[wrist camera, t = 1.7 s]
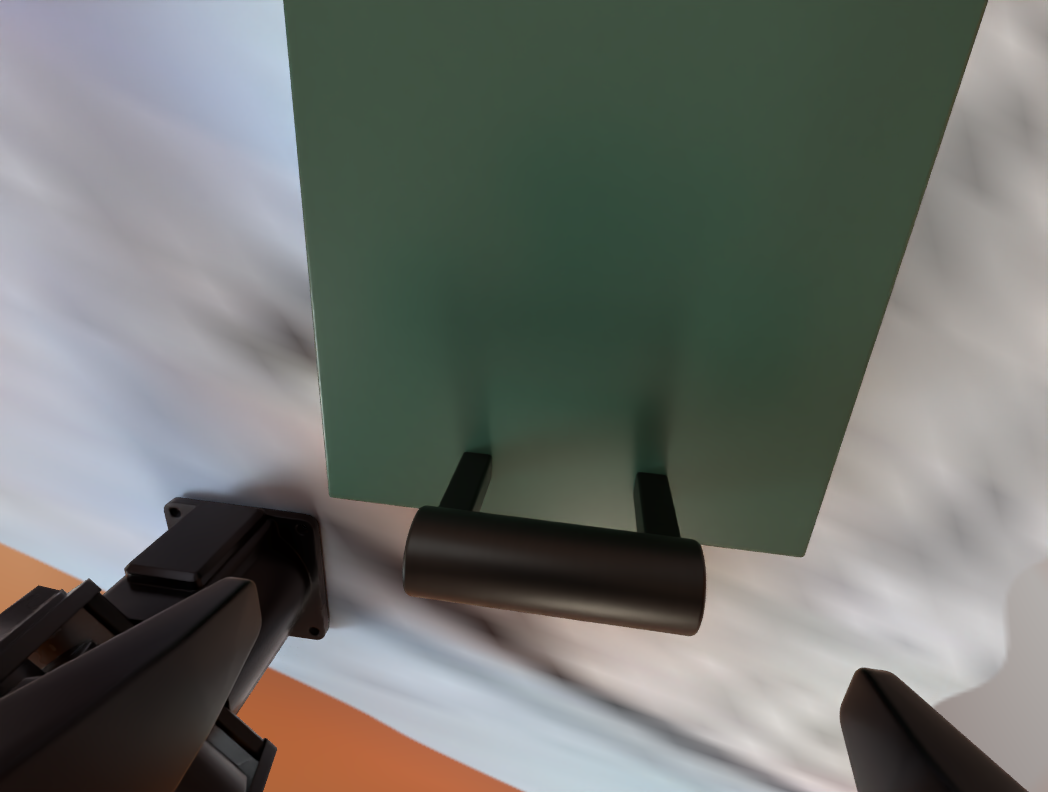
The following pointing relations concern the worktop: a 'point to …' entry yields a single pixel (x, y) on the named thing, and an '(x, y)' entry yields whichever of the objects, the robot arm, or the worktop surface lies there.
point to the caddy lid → (605, 273)
